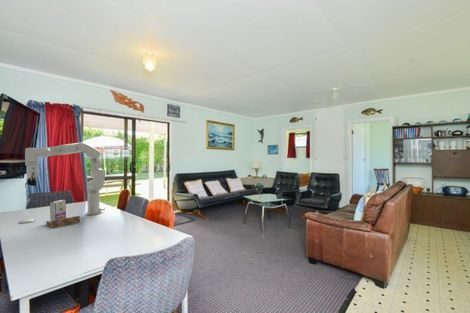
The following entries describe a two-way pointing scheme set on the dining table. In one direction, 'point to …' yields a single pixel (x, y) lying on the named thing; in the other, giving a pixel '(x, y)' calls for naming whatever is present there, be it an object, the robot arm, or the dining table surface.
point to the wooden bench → (63, 221)
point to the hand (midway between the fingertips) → (31, 185)
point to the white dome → (27, 220)
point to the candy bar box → (57, 210)
